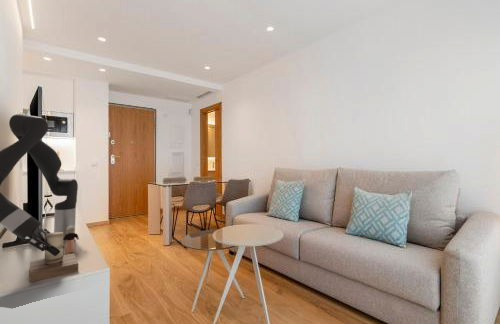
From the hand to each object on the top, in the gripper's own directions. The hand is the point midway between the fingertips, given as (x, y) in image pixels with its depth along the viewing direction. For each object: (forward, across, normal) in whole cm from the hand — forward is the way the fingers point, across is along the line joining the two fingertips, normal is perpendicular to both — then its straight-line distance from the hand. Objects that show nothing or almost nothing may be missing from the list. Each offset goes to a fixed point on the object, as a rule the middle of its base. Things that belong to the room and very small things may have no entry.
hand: (59, 251), depth 97 cm
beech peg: (+3, 0, +6) cm, 6 cm away
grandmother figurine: (+5, +20, +5) cm, 21 cm away
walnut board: (+4, 0, +6) cm, 7 cm away
